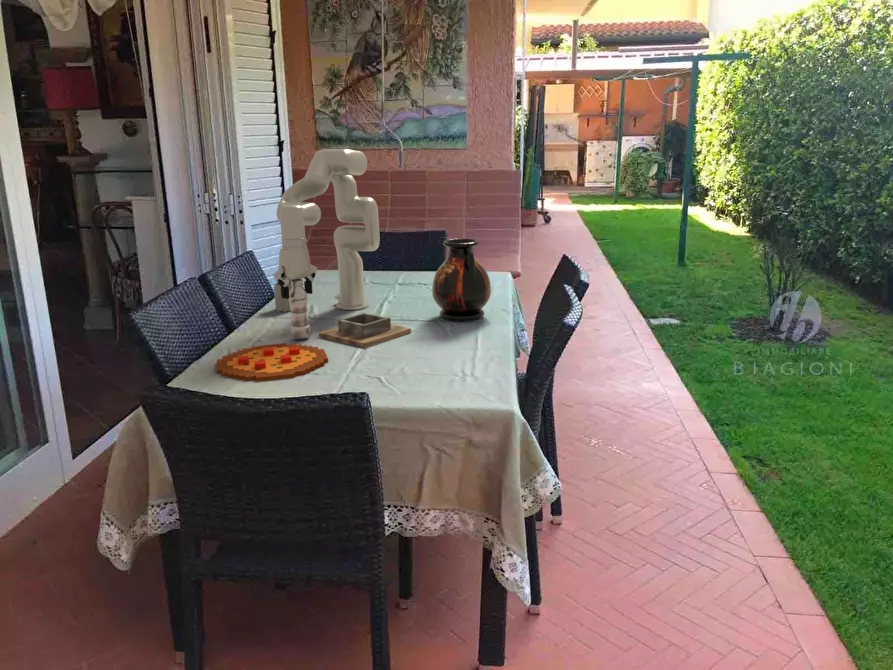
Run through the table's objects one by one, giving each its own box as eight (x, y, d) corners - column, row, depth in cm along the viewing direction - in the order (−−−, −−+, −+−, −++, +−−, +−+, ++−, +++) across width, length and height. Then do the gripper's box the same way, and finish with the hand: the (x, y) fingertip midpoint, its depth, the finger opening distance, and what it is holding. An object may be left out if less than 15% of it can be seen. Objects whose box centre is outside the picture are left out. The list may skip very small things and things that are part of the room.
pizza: (333, 374, 209) (332, 364, 208) (216, 387, 200) (215, 376, 199) (319, 344, 238) (319, 335, 237) (217, 354, 230) (216, 345, 229)
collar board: (318, 336, 245) (317, 321, 244) (365, 323, 261) (364, 308, 260) (364, 347, 232) (364, 331, 230) (410, 332, 248) (410, 317, 247)
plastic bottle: (315, 337, 245) (311, 278, 239) (303, 342, 239) (298, 282, 233) (299, 335, 247) (294, 277, 242) (287, 340, 242) (282, 281, 236)
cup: (301, 307, 286) (299, 282, 283) (290, 312, 279) (288, 287, 276) (283, 306, 289) (281, 281, 286) (271, 311, 281) (269, 285, 278)
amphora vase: (423, 313, 273) (421, 239, 265) (475, 307, 281) (475, 235, 273) (446, 327, 254) (445, 247, 246) (501, 320, 262) (501, 242, 254)
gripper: (306, 239, 243) (310, 290, 247) (264, 245, 230) (268, 298, 235) (322, 241, 238) (324, 292, 243) (279, 247, 226) (283, 301, 230)
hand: (297, 295), depth 239 cm, fingers open, 9 cm apart
